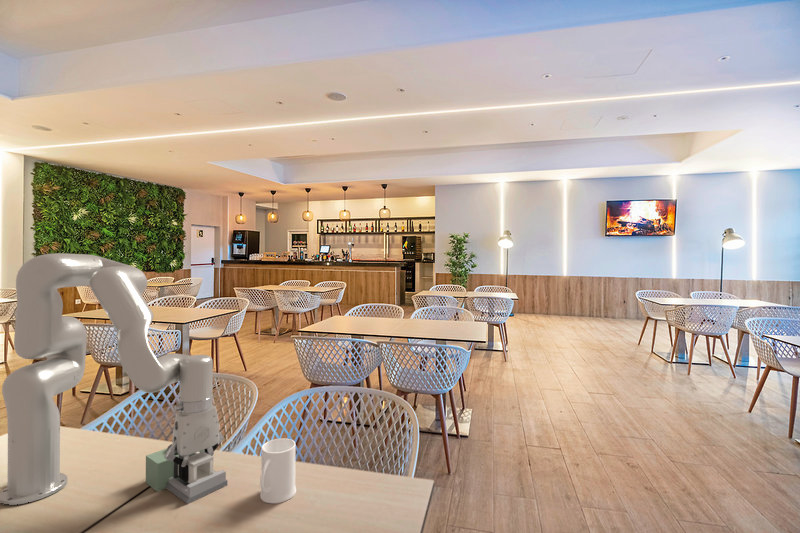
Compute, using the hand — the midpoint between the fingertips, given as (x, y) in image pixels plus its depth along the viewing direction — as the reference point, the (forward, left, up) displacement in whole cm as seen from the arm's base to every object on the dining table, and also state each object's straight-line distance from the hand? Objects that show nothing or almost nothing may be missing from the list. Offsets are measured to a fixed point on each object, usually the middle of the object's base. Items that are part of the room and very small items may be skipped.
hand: (195, 474), depth 100 cm
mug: (+20, +9, -3) cm, 22 cm away
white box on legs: (0, 0, 0) cm, 0 cm away
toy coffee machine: (-3, 0, -3) cm, 4 cm away
